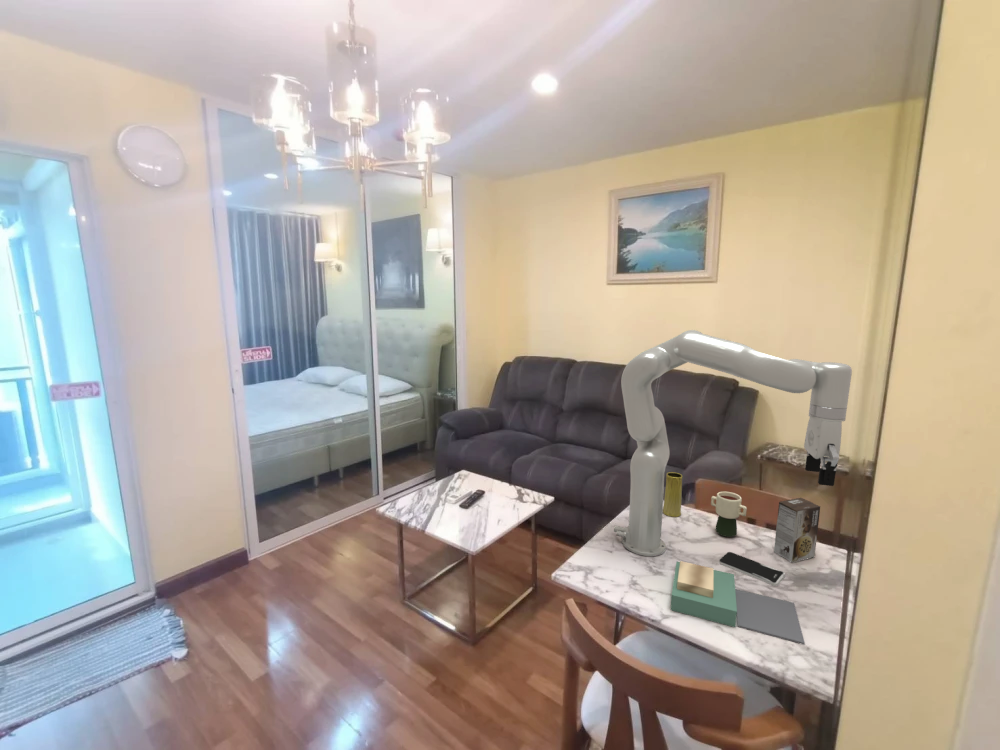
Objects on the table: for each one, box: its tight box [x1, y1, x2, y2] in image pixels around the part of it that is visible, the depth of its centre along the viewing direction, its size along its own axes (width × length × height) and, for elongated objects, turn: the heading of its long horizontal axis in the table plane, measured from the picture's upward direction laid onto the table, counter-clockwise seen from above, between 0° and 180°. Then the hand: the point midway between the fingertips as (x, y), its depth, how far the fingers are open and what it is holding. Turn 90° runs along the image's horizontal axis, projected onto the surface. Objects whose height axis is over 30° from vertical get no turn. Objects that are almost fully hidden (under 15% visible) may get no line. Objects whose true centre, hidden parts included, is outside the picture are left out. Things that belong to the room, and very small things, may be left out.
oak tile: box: [677, 560, 715, 598], centre depth 115 cm, size 8×10×2 cm
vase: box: [662, 471, 683, 518], centre depth 160 cm, size 6×6×14 cm
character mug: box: [710, 491, 748, 538], centre depth 146 cm, size 11×7×13 cm, turn 41°
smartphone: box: [718, 551, 786, 587], centre depth 128 cm, size 8×1×15 cm
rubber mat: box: [735, 588, 806, 645], centre depth 109 cm, size 13×15×1 cm
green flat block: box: [670, 561, 737, 628], centre depth 115 cm, size 14×16×4 cm
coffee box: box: [773, 497, 821, 563], centre depth 134 cm, size 9×6×16 cm
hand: (818, 477), depth 116 cm, fingers open, 9 cm apart
